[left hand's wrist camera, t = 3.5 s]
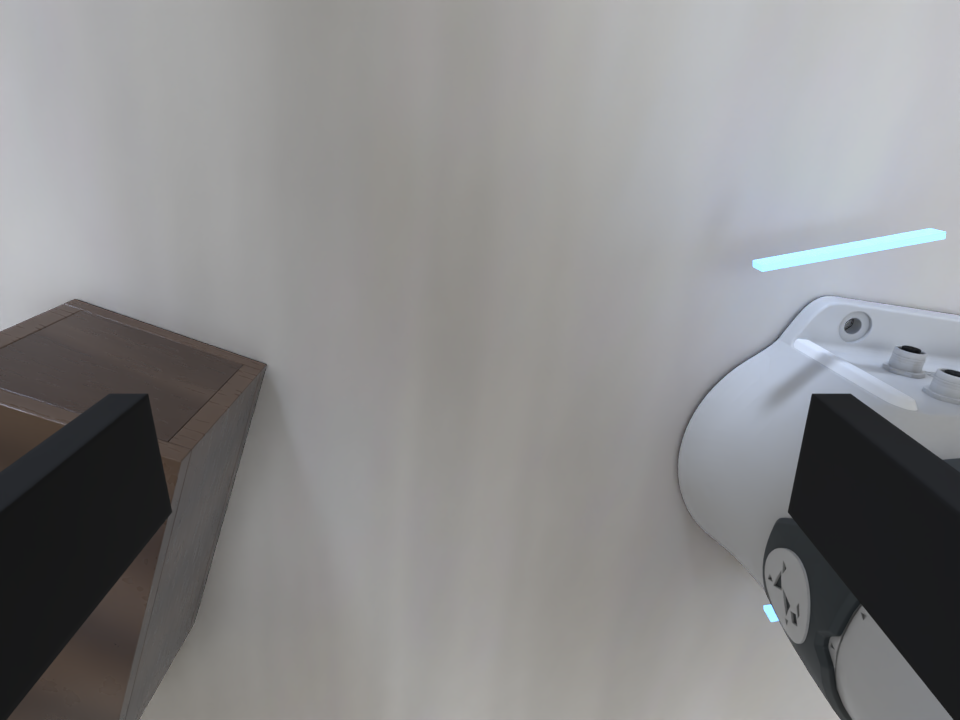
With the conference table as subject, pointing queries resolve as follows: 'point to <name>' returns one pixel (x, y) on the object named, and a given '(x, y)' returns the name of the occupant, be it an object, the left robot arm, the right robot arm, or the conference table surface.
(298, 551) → the conference table surface
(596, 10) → the conference table surface
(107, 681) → the cabinet
